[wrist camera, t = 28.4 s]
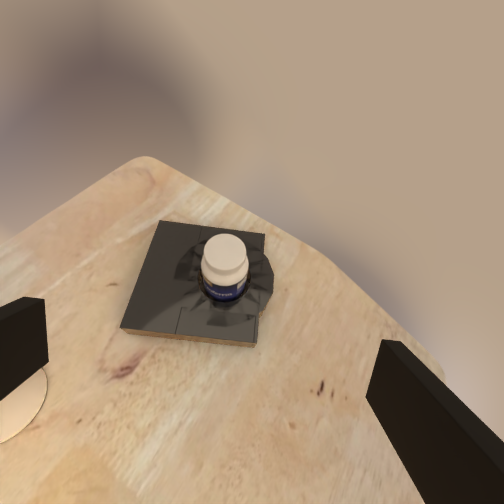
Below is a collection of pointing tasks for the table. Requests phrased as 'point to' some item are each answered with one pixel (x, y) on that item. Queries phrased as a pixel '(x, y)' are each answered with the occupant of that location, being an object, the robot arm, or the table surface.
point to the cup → (22, 405)
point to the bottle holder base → (196, 290)
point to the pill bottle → (224, 268)
